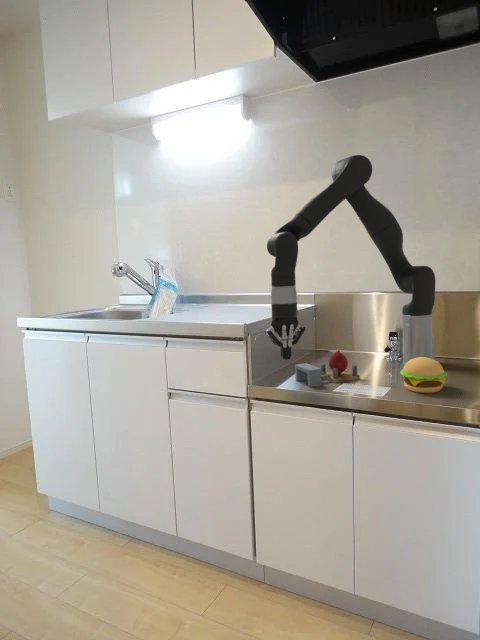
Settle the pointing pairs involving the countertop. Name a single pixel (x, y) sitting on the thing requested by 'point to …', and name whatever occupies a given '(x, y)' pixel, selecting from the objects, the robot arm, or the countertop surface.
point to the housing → (308, 374)
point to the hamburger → (423, 375)
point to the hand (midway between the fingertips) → (286, 359)
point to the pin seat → (341, 377)
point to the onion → (338, 362)
